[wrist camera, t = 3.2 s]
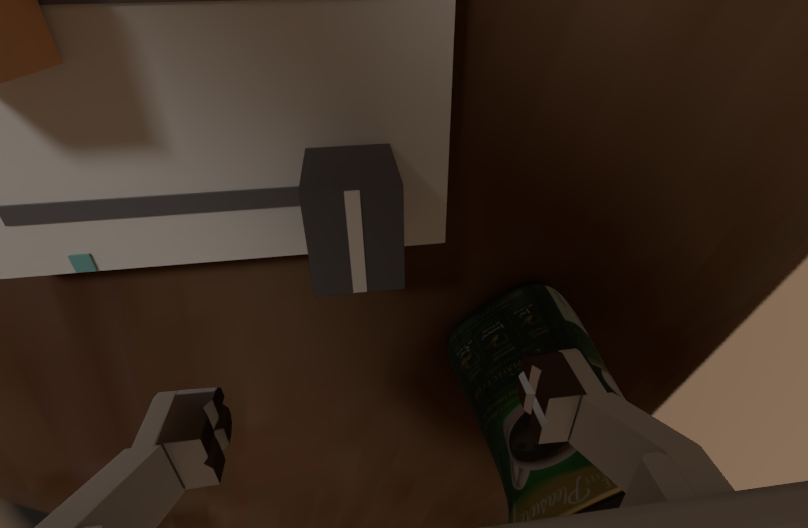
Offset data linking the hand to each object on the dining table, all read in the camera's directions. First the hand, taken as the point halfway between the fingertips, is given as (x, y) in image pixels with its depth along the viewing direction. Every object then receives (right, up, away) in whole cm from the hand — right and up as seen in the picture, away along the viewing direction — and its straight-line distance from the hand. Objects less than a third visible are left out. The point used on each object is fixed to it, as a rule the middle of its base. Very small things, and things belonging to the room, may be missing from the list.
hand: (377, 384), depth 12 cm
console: (-9, +12, +10) cm, 18 cm away
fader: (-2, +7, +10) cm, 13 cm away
